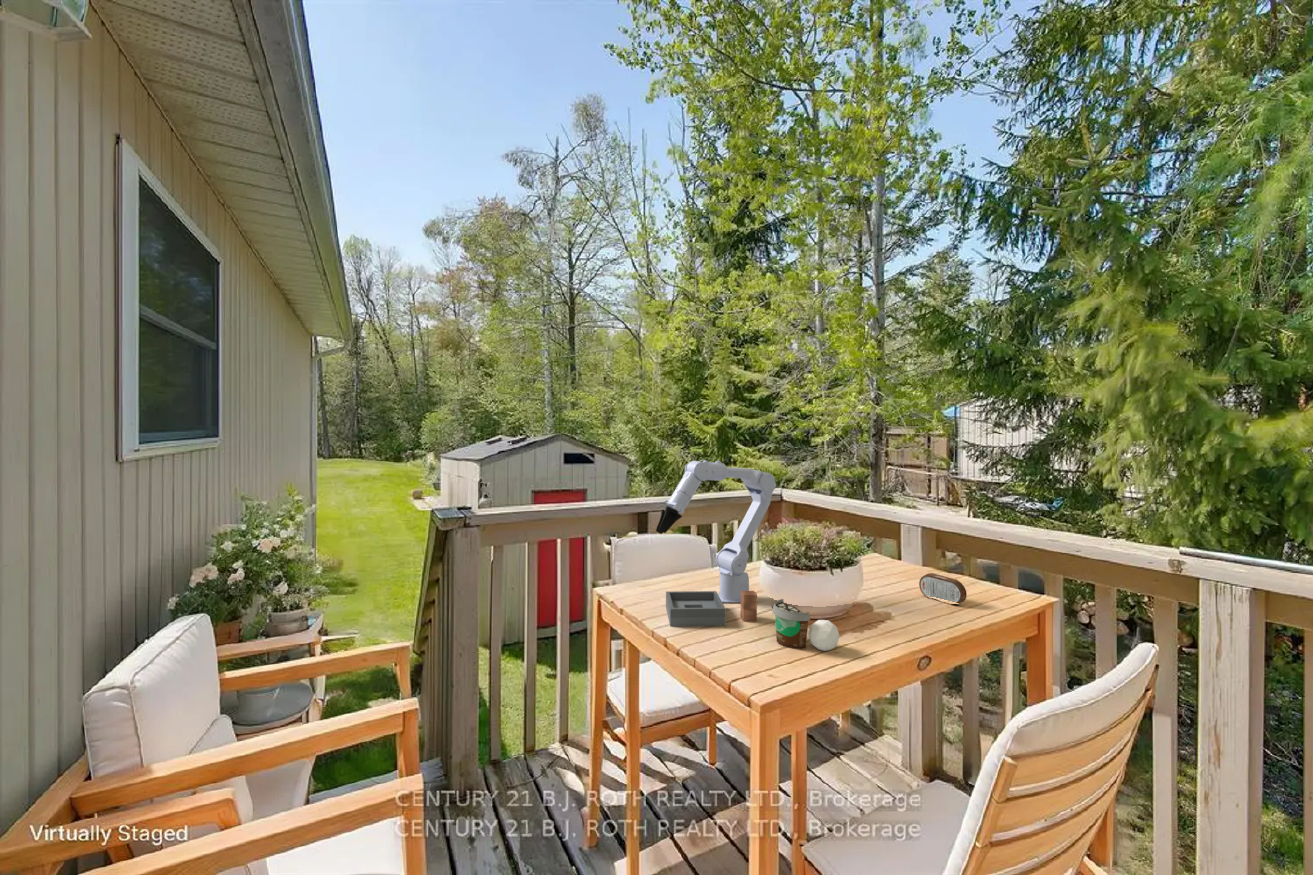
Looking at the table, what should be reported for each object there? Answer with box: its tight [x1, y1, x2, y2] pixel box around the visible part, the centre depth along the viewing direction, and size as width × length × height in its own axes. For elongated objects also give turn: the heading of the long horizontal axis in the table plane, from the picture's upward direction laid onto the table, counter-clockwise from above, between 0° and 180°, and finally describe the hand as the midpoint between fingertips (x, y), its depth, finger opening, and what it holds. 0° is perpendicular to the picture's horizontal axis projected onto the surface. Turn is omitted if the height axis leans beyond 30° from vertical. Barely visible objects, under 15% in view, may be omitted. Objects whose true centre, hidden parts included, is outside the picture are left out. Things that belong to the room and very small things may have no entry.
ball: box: [807, 619, 840, 652], centre depth 151 cm, size 8×8×8 cm
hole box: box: [665, 590, 726, 627], centre depth 174 cm, size 16×16×5 cm
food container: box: [772, 598, 811, 650], centre depth 154 cm, size 12×6×10 cm, turn 23°
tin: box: [918, 572, 968, 604], centre depth 190 cm, size 15×3×8 cm, turn 34°
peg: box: [740, 590, 758, 623], centre depth 171 cm, size 4×4×8 cm
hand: (660, 531), depth 175 cm, fingers open, 7 cm apart
